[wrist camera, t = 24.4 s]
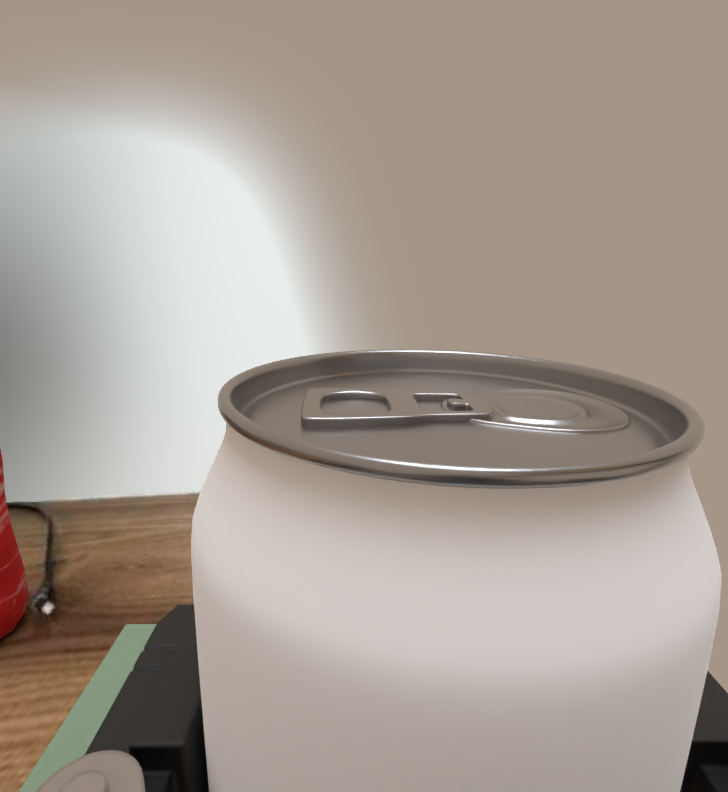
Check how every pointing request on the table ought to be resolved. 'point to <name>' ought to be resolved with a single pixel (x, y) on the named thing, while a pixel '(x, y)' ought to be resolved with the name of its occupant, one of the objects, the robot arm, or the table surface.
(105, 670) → the cabinet
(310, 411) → the can
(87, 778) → the robot arm
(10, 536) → the water bottle
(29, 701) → the table surface
